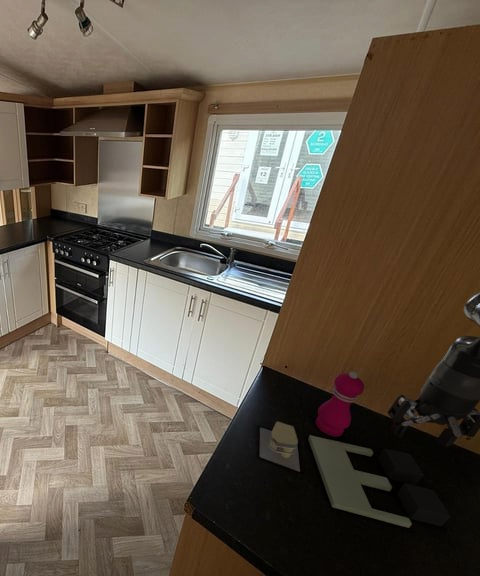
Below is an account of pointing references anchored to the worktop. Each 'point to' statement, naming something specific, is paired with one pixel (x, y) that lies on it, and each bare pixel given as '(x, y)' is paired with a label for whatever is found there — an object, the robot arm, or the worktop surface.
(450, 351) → the robot arm
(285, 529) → the worktop surface
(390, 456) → the dark charcoal cube
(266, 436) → the stacked layers on plate
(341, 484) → the pale green e-shaped block
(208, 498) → the worktop surface
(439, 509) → the black block
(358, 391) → the pepper mill
